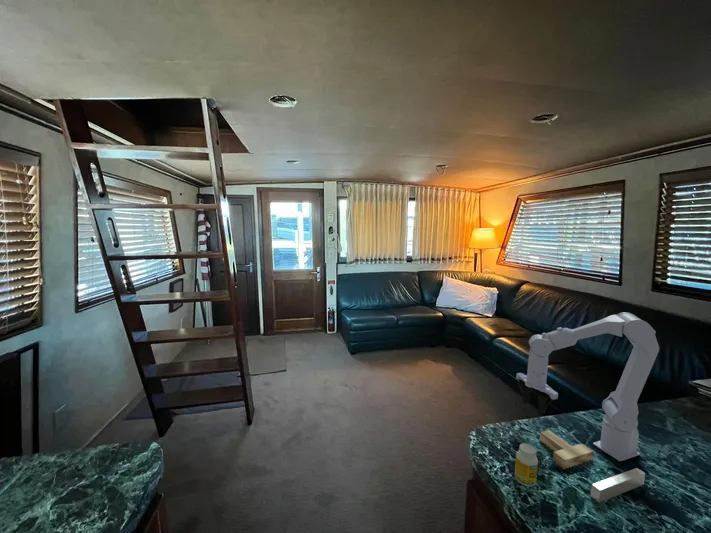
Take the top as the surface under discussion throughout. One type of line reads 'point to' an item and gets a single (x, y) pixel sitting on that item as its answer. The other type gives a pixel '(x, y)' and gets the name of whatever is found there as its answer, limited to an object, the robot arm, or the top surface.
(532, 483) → the supplement bottle
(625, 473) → the rail
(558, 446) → the maple t block
